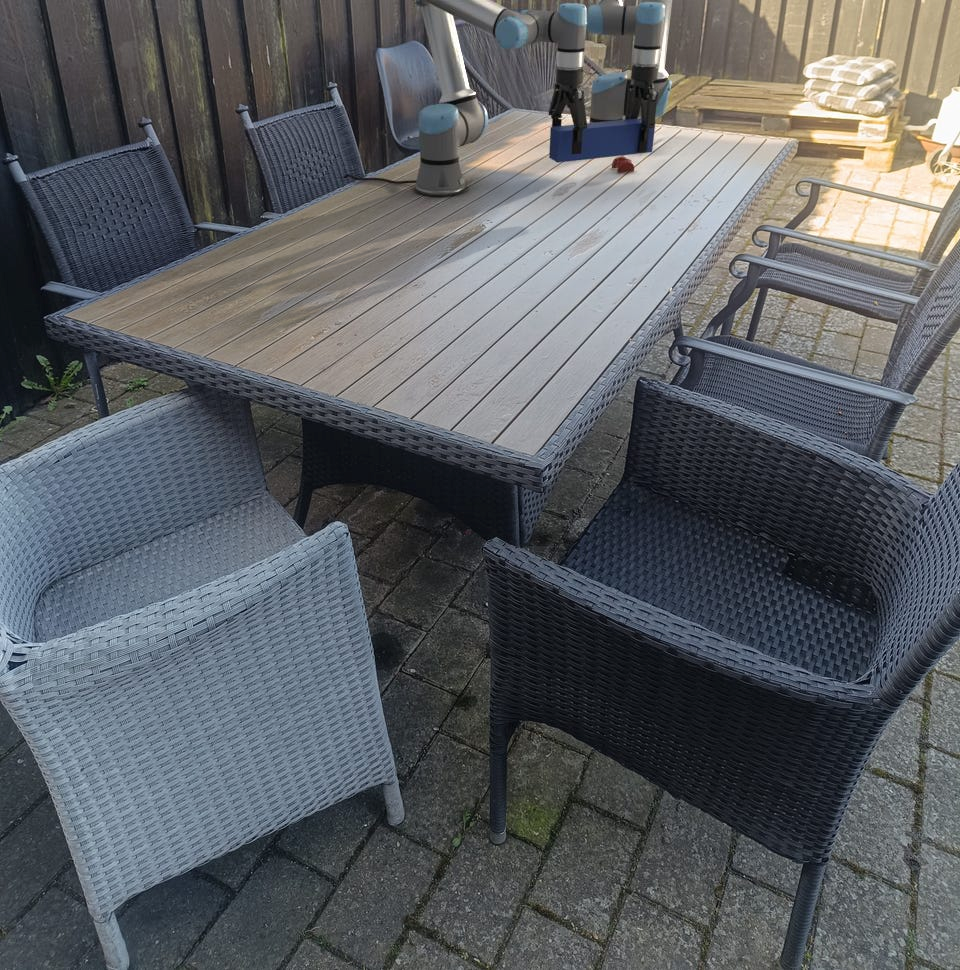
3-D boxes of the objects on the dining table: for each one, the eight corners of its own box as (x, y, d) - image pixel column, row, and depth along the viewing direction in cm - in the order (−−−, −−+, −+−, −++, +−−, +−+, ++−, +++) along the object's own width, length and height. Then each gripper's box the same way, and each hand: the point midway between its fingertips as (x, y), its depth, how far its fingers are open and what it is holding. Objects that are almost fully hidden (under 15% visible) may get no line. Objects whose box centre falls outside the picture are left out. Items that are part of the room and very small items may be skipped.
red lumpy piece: (626, 152, 277) (636, 159, 270) (626, 166, 279) (635, 172, 273) (610, 154, 276) (620, 161, 269) (610, 167, 278) (619, 174, 272)
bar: (557, 162, 244) (558, 131, 239) (549, 157, 248) (550, 126, 243) (652, 152, 253) (655, 121, 248) (642, 147, 257) (645, 117, 252)
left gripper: (603, 74, 225) (597, 157, 237) (562, 60, 244) (559, 137, 256) (578, 76, 222) (573, 159, 235) (539, 61, 241) (536, 139, 254)
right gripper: (674, 69, 234) (663, 155, 248) (640, 58, 248) (632, 140, 262) (650, 71, 232) (641, 158, 246) (617, 60, 246) (610, 143, 260)
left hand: (565, 148), depth 245 cm, fingers open, 13 cm apart
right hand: (636, 149), depth 254 cm, fingers closed on bar, 6 cm apart
